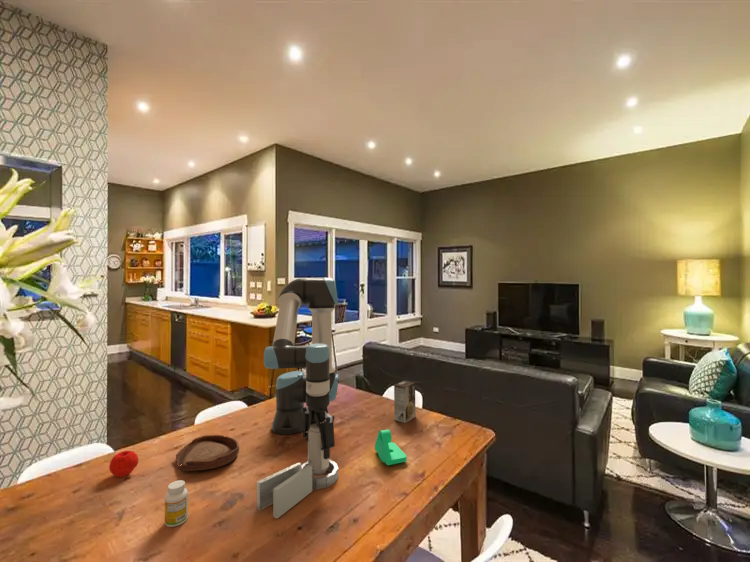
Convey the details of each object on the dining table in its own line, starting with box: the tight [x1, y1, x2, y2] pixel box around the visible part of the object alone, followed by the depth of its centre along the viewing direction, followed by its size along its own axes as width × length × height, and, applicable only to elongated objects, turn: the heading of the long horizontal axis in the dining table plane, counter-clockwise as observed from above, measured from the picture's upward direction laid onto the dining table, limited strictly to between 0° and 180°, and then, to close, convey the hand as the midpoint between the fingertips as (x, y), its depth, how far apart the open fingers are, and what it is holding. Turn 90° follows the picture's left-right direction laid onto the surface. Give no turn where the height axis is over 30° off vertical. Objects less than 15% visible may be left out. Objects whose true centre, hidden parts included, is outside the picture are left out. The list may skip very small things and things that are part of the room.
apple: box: [108, 450, 140, 478], centre depth 116 cm, size 8×8×7 cm
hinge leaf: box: [272, 465, 313, 519], centre depth 100 cm, size 2×14×8 cm, turn 149°
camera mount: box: [374, 429, 408, 466], centre depth 126 cm, size 12×8×10 cm, turn 21°
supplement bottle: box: [164, 479, 189, 528], centre depth 93 cm, size 5×5×10 cm
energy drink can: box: [308, 423, 328, 477], centre depth 113 cm, size 6×6×15 cm
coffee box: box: [393, 380, 417, 424], centre depth 161 cm, size 9×6×16 cm
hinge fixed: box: [256, 458, 339, 511], centre depth 108 cm, size 12×27×8 cm, turn 137°
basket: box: [175, 434, 240, 472], centre depth 126 cm, size 22×20×5 cm
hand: (318, 464), depth 113 cm, fingers closed on energy drink can, 6 cm apart
